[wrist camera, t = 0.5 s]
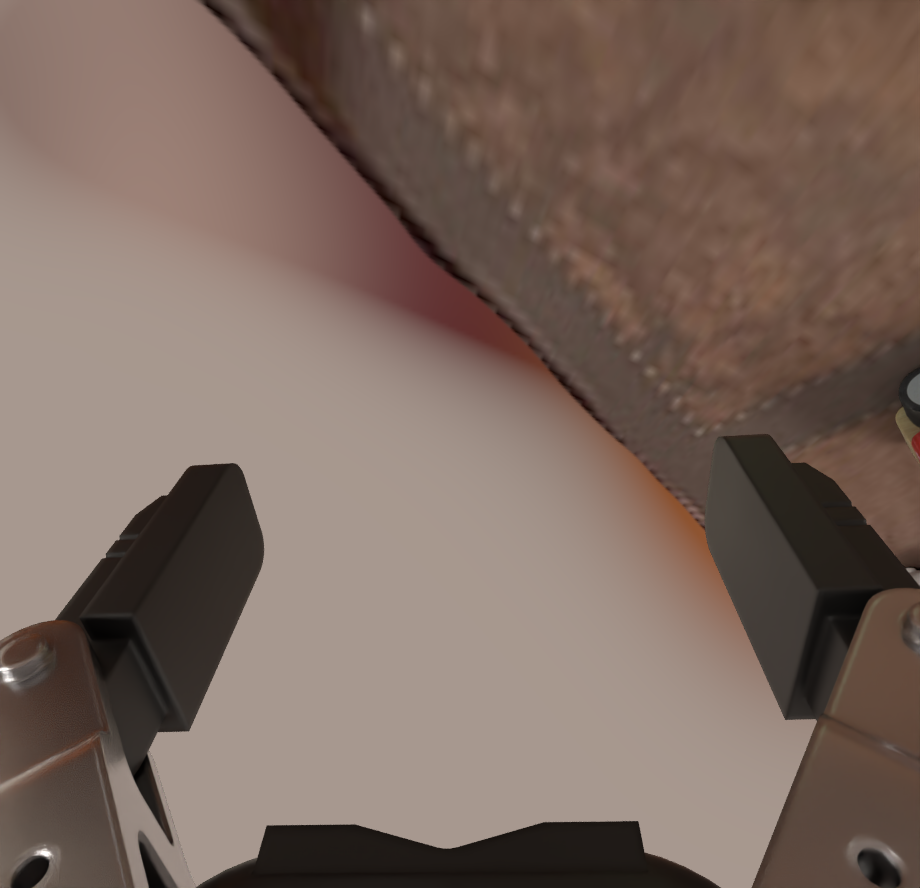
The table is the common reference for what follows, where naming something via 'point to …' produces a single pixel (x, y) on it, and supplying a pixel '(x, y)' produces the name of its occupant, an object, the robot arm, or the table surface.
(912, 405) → the toy fire truck
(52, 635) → the robot arm
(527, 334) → the table surface
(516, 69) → the table surface
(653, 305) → the table surface
